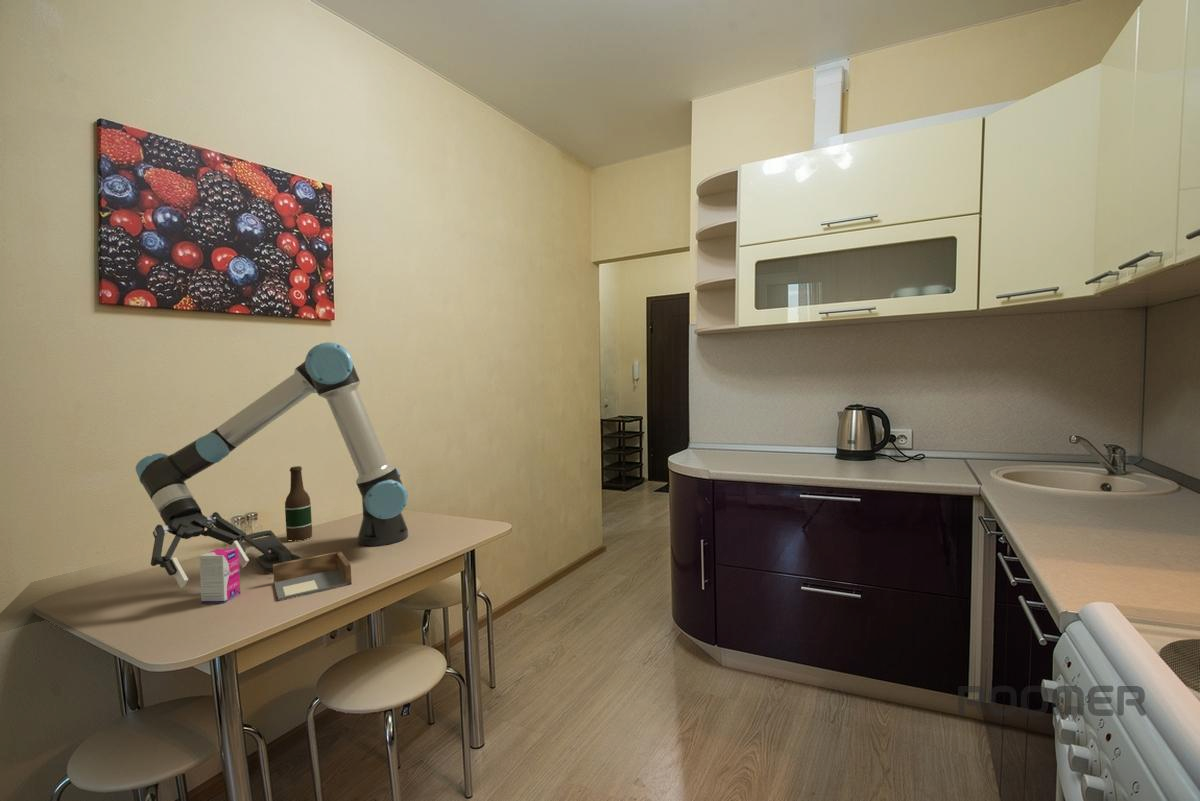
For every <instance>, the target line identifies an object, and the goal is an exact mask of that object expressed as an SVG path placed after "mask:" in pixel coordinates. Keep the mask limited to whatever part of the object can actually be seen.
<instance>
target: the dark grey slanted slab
mask: <svg viewBox="0 0 1200 801" xmlns="http://www.w3.org/2000/svg"><path fill="white" fill-rule="evenodd" d="M243 541H245V542H246V543H247V544H250V545H251V546H252V547H253V548H254V549H256V550H258V551H259V552H261V555H259V556H257V557H256V558H257V559H256V560H257V565H258V566H259V567H260V569H261V570H262V571H263V573H264V574H269V573H272V574H271V575H273V564H277V563H282V562H288V561H293V560H298V559H301V556H300V555H296V554H293V553H292V551H291V550H290V549H288V548H287V547H286V546H285V545H284V544H283V543H282V542H281V541H280V539H279V538H278V537H277V536H276V534H275V533H274V532H273V531H272V529H270V530H263V531H258V532H253V533H248V534H246V536H245V538H244V539H243Z"/></svg>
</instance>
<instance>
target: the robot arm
mask: <svg viewBox="0 0 1200 801" xmlns="http://www.w3.org/2000/svg"><path fill="white" fill-rule="evenodd" d="M360 383H361V380H360V378H359V376H358V374H357V370H356V368H355V365H354V362H353V357H352V354H350V352H349V350H347V348H345V347H344V346H343V345H341V344H339V343H336V342H329V341H327V342H322V343H319V344H316V345H314V346H313V347H312V348H311V349H310V350H309V351H308V352H307V354H306V356H305V359H304V362H302V363H301V364H300V365H298V366H297V367H295V368H294V373H293V374H291V375H290V376H289V377H287V378H286V379H285V380H283V381H281V382H280V383H278V384H277V385H276V386H274V387H273V388H271V389H270V390H269V391H267V392H266V393H264V394H262V395H261V396H260V397H258V398H257V399H255V401H253V402H252V403H250V404H249V405H247V406H246V407H244V408H242V409H241V410H239V412H237V413H236V414H235V415H233V416H231V417H230V418H228V419H227V420H226V421H224V422H222V423H221V424H220V425H218V426H217V427H216V428H214V429H213V430H211V431H210V432H209V433H207V434H204V435H203V436H202V435H201V436H200V437H199V438H197V439H195V440H194V441H192V442H190V443H189V444H187V445H184V446H183V447H182V448H181V449H179V450H177V451H175V452H174V453H171V454H170V455H167V454H166V453H159V452H158V453H153V454H152V455H146V456H145V457H143V458H141V459H140V460H139V461H137V464H136V465H135V472H136V475H137V477H138V479H139V483H140V484H141V485H142V486H143V488H144V490H145V491H146V493H147V494H148V497H149V499H150V500H151V502H152V503H153V505H154V507H155V509H156V511H157V512H158V514H159V516H160V518H161V519H162V521H163V523H164V525H161V524H157V525H156V526H155V528H154V529H153V531H152V535H153V538H154V541H153V542H154V543H153V548H152V554H151V560H150V565H151V566H152V567H156V566H157V565H158V566H159V567H160V568H162V569H163V568H164V569H165V571H166V573H167V575H169V576H173V577H174V579H175V580H176V582H177V584H178V586H179V588H180V589H181V588H184V587H185V586H186V584H187V583H188V581H189V577H188V576H187V574H186V573H185V571H184V569H183V568H182V566H181V564H180V562H179V560H178V558H177V557H172V556H173V555H174V552H175V550H176V549H177V547H178V545H179V543H180V541H181V539H185V540H189V539H191V538H195V537H200V536H203V537H209V538H212V539H214V540H218V541H220V542H223V543H225V544H228V545H230V547H229V549H239V567H241V568H242V569H243V568H246V566H247V564H248V563H249V561H250V559H249V557H248V555H247V554H246V553H245V552H246V547H245V545H244V544H243V543H242V542H243V541H244V540H243V539H244V538H245V536H246V535H247V533H246V532H245V531H243V530H242V529H240V528H239V527H237V526H235V525H234V524H232V523H230V522H229V521H228V520H226V519H224V518H223V517H222V516H221V515H220V514H219V512H217V511H213V513H212V514H211V515H208V516H205V515H204V513H203V512H202V509H201V507H200V506H199V504H198V503H197V501H196V499H195V498H194V495H193V494H192V492H191V491H190V489H189V488H188V486H187V484H186V481H187V480H189V479H191V478H193V476H196V475H198V474H199V473H201V472H203V471H205V470H207V469H208V468H210V467H211V466H213V465H214V464H216V463H219V462H220V461H222V460H223V459H224V458H226V457H228V456H229V454H230V453H231V452H232V451H234V450H235V449H237V448H239V446H240V445H242V444H243V443H245V442H246V441H248V440H249V439H251V438H252V437H253V436H254V435H256V434H257V433H259V432H260V431H262V430H263V429H264V428H266V427H267V426H268V425H270V424H271V423H272V422H274V421H276V420H277V419H278V418H280V417H281V416H282V415H284V414H285V413H287V412H288V411H289V410H291V409H292V408H293V407H296V405H298V404H300V403H301V402H302V401H303V400H304V399H306V398H308V397H309V396H310V395H311V394H317V395H318V396H319V397H321V398H323V399H325V400H326V401H327V404H328V405H329V408H330V411H331V413H332V415H333V418H334V420H335V423H336V424H337V427H338V429H339V431H340V434H341V436H342V439H343V441H344V443H345V446H346V448H347V450H348V454H349V455H350V457H351V459H352V462H353V465H354V466H355V469H356V471H357V473H358V476H357V478H356V480H355V483H356V486H357V489H358V491H359V493H360V495H361V501H362V505H361V507H362V521H361V524H360V527H359V531H358V534H357V540H358V541H357V542H358V544H359V545H362V546H368V547H371V546H385V545H392V544H395V543H398V542H402V541H405V539H407V538H408V537H409V527H408V526H407V524H406V521H405V519H404V516H403V513H402V512H403V511H404V509H405V508H406V506H407V505H408V504H407V503H408V494H409V493H408V491H407V488H406V487H405V485H404V484H403V482H402V480H401V473H400V469H399V468H398V467H396V466H395V465H393V464H391V463H389V462H388V460H387V457H386V455H385V452H384V450H383V448H382V446H381V443H380V440H379V438H378V436H377V433H376V431H375V429H374V427H373V423H372V422H371V420H370V419H371V418H370V417H369V414H368V412H367V410H366V406H365V404H364V402H363V400H362V398H361V394H360V392H359V391H358V387H359V385H360ZM205 529H206V530H205ZM167 532H168V533H170V534H171V535H173V536H174V538H173V539H172V541H171V544H170V545H169V548H168V549H167V551H166V553H165V555H164V556H162V552H163V546H164V540H165V535H166V534H167Z"/></svg>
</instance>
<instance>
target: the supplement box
mask: <svg viewBox="0 0 1200 801" xmlns="http://www.w3.org/2000/svg"><path fill="white" fill-rule="evenodd" d="M240 573H241V572H240V564H239V549H230V548H215V549H213V550H210V551H208V552H206V553H203V554H201V555H199V574H200V576H199V577H200V603H201V604H203V605H205V604H206V603H207V604H224V603H226V602H228V601H230V600H231V599H233V598H234V597H237V596H239V595H241V582H240V575H241V574H240ZM238 594H239V595H238Z"/></svg>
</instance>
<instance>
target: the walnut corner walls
mask: <svg viewBox="0 0 1200 801" xmlns="http://www.w3.org/2000/svg"><path fill="white" fill-rule="evenodd" d="M336 569H338V570H339V572H340V574H341V575H342V577H343V578H344V580H345V582H346V586H349V585H350V583H351V585H352V566H351V563H350V562H349V560H348V559H347V558H346V556H345V555H344V553H343V552H342V551H341V550H340V551H339V550H338V551H335V552H330V553H325V554H320V555H314V556H309V557H308V556H307V557H304V558H300V559H298V560H293V561H288V562H282V563H277V564H273V574H272V575H273V583H274V582H279V581H284V580H289V579H293V578H298V577H303V576H307V575H312V574H317V573H322V572H326V571H331V570H336ZM347 583H349V585H348V584H347Z"/></svg>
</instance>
